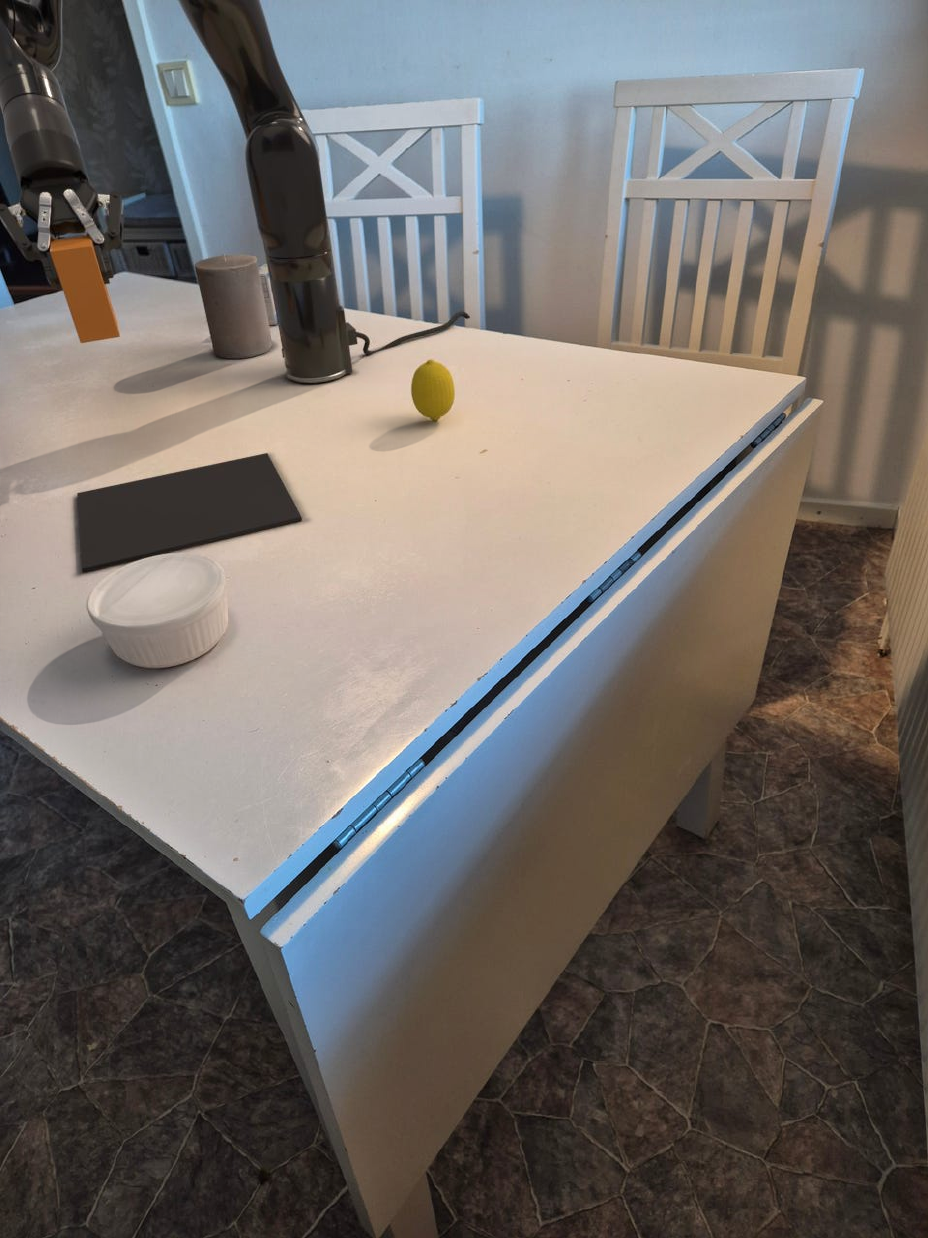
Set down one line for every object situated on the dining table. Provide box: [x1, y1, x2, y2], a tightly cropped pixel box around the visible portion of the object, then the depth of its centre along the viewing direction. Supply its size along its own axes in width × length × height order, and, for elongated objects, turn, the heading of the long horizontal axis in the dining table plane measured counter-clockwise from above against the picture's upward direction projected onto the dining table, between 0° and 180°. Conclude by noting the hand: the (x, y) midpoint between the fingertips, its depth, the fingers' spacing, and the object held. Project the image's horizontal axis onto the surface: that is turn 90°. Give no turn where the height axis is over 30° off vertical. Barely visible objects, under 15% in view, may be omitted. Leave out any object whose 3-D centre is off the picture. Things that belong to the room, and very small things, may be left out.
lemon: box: [410, 359, 456, 422], centre depth 103 cm, size 6×6×8 cm
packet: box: [50, 235, 121, 344], centre depth 94 cm, size 4×7×10 cm, turn 22°
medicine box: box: [258, 263, 278, 326], centre depth 145 cm, size 8×4×9 cm, turn 168°
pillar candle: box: [194, 251, 273, 360], centre depth 129 cm, size 10×10×15 cm
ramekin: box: [86, 552, 229, 669], centre depth 68 cm, size 11×11×5 cm
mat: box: [76, 452, 303, 573], centre depth 89 cm, size 22×18×1 cm
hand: (83, 282), depth 92 cm, fingers closed on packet, 4 cm apart
